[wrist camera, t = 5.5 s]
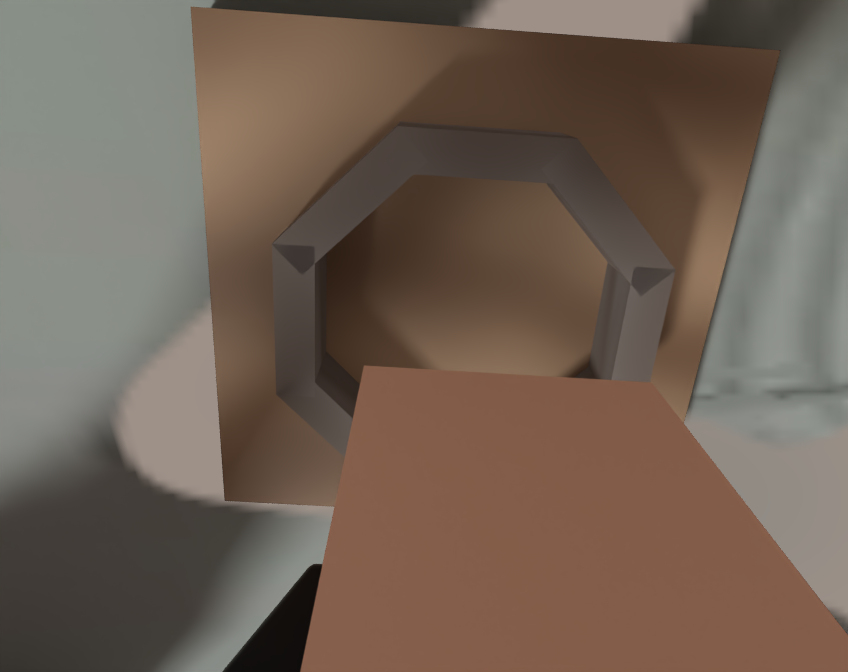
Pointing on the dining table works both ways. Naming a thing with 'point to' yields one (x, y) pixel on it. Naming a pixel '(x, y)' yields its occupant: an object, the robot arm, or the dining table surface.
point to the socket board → (453, 215)
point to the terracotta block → (548, 539)
